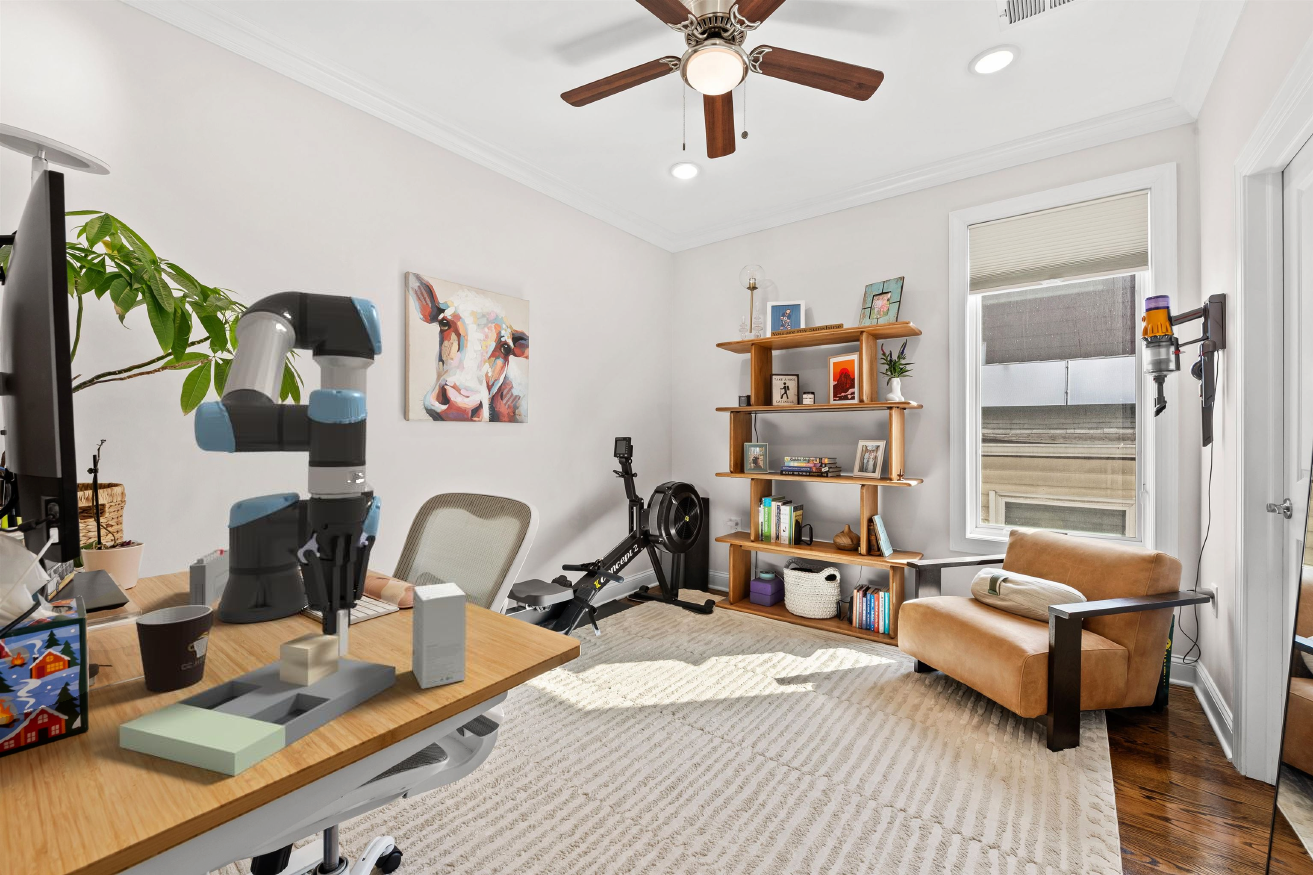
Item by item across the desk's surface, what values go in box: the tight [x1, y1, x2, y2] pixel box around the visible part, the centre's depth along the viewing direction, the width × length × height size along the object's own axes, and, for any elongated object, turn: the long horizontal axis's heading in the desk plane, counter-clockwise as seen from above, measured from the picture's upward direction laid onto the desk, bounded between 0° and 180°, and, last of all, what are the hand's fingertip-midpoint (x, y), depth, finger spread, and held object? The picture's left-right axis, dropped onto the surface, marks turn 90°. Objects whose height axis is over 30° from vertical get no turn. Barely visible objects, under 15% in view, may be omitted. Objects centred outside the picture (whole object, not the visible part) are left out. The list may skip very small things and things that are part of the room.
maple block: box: [279, 632, 338, 686], centre depth 82 cm, size 5×5×5 cm
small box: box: [411, 582, 467, 690], centre depth 89 cm, size 8×6×13 cm
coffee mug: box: [135, 604, 214, 694], centre depth 86 cm, size 12×9×10 cm
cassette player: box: [189, 548, 229, 607], centre depth 125 cm, size 16×3×10 cm, turn 17°
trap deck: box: [119, 656, 397, 777], centre depth 77 cm, size 24×18×2 cm
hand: (336, 653), depth 86 cm, fingers closed
